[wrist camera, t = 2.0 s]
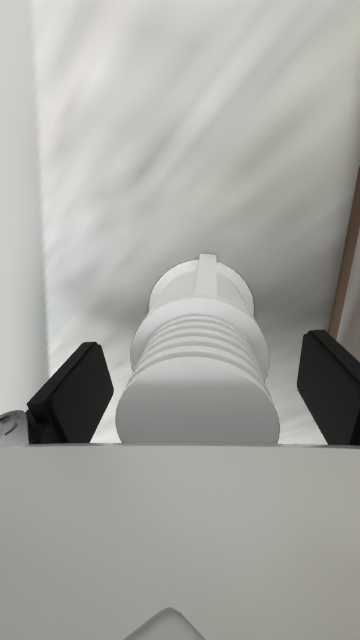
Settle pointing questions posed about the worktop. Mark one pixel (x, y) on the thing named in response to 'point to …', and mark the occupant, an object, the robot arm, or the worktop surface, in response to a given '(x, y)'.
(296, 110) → the worktop surface
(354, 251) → the silver picture frame
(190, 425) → the downlight
